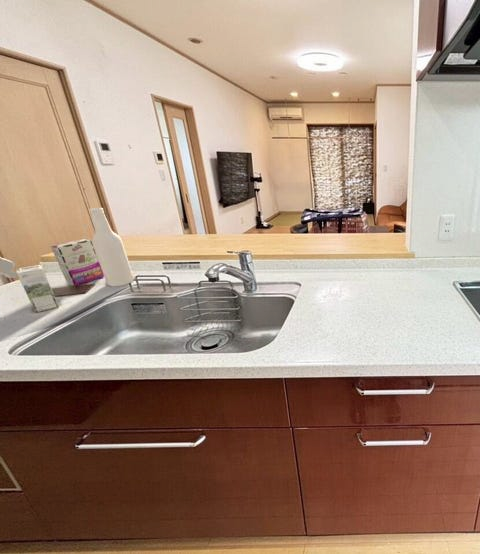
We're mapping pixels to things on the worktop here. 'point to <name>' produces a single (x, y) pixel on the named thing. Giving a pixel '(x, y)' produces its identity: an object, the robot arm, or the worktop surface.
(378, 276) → the worktop surface
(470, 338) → the worktop surface
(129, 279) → the alcohol
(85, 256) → the candy bar box
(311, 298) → the worktop surface
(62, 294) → the board
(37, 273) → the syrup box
